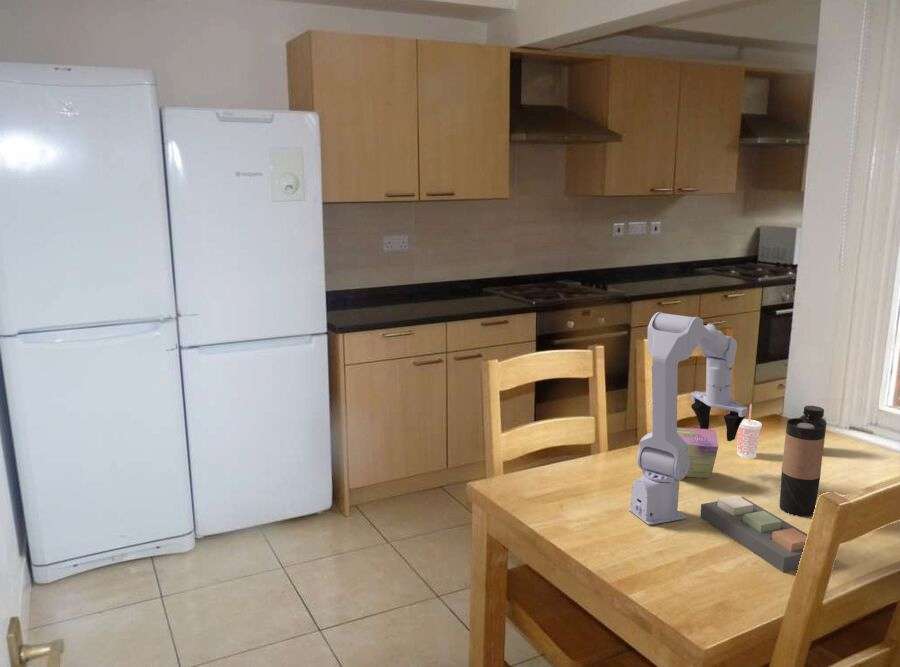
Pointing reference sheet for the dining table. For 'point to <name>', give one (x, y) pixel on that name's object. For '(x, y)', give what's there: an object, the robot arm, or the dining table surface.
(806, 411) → the supplement bottle
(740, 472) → the dining table surface
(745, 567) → the dining table surface
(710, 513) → the console
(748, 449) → the beverage cup
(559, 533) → the dining table surface
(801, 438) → the travel mug
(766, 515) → the sage button
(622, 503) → the dining table surface
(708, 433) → the box
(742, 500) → the cream button
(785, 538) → the terracotta button
